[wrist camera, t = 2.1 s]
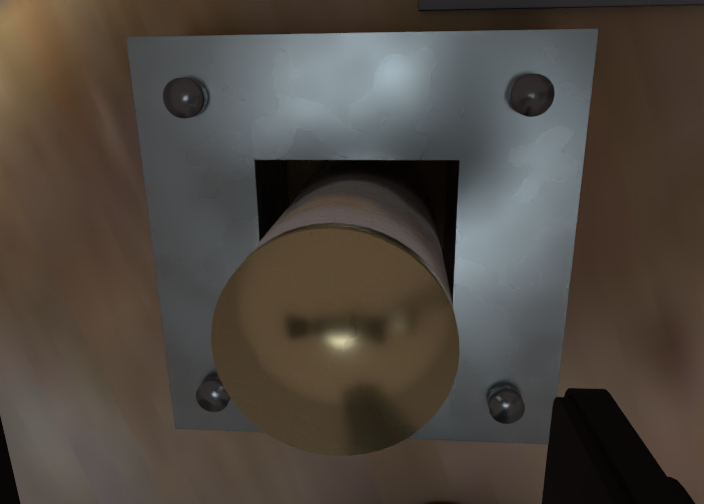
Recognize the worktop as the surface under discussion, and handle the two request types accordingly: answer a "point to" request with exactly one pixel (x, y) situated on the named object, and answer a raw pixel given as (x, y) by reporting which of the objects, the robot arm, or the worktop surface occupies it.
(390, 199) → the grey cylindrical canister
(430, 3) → the rubber mat
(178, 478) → the worktop surface
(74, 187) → the worktop surface
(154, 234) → the housing
